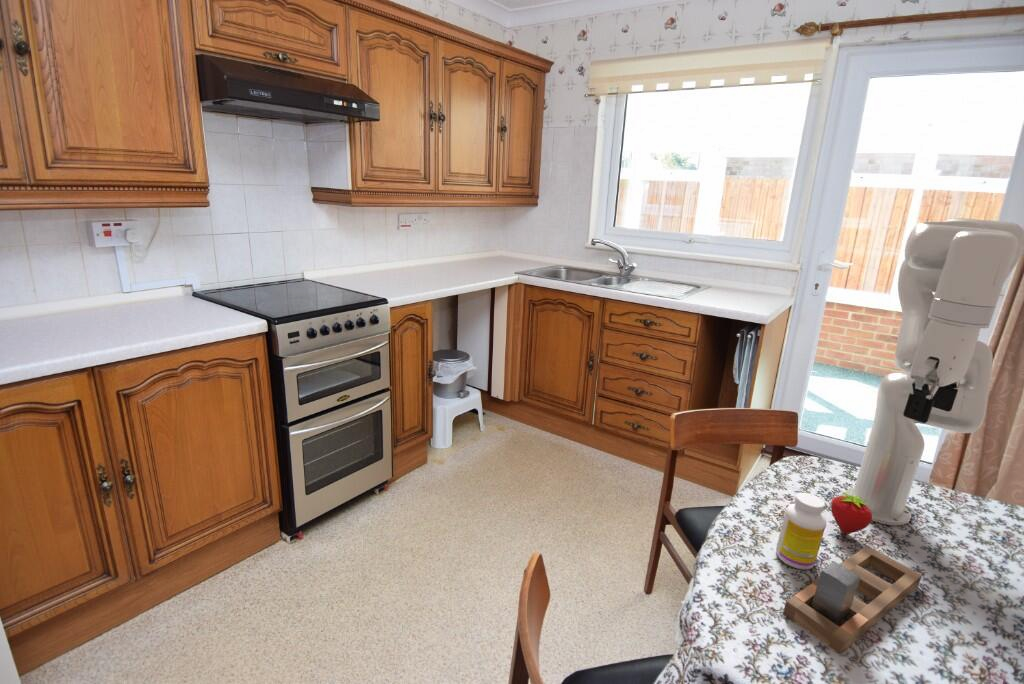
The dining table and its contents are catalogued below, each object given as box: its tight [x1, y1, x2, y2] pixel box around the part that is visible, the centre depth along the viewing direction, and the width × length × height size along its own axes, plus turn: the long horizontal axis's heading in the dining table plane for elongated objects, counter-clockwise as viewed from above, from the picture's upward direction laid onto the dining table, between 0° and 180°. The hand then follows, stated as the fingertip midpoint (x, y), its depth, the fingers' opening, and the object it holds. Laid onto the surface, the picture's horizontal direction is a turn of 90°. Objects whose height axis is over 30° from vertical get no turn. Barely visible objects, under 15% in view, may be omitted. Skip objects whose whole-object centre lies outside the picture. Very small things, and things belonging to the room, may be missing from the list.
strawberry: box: [830, 491, 873, 535], centre depth 107 cm, size 6×8×10 cm
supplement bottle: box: [775, 492, 827, 570], centre depth 98 cm, size 7×7×13 cm
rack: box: [782, 545, 923, 655], centre depth 91 cm, size 28×9×3 cm, turn 124°
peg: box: [811, 560, 860, 627], centre depth 85 cm, size 4×4×9 cm
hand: (927, 413), depth 88 cm, fingers open, 9 cm apart
